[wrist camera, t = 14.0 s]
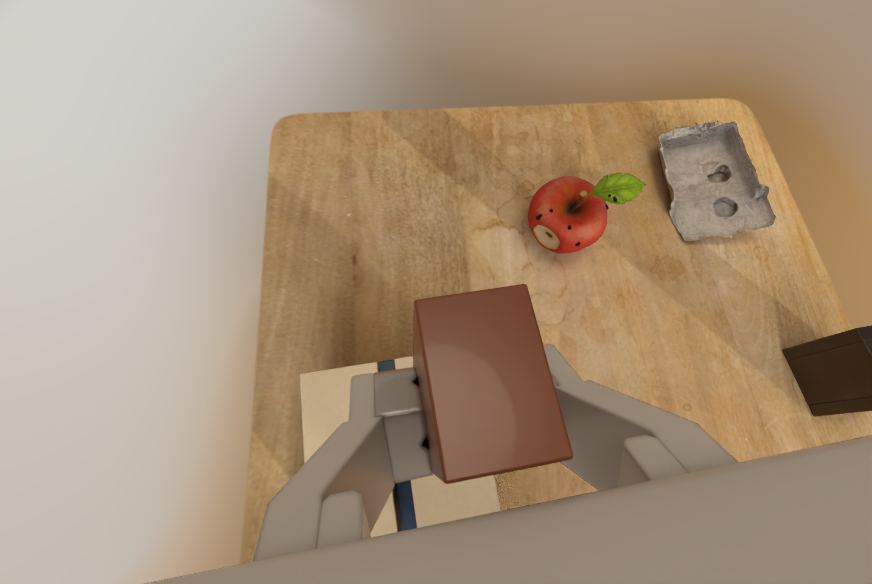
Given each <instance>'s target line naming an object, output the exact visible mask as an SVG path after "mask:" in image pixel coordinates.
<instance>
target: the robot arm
mask: <svg viewBox="0 0 872 584" xmlns="http://www.w3.org/2000/svg"><path fill="white" fill-rule="evenodd" d="M543 346H544V350H545V353H546V357H547V361H548V364H549V368H550V372H551V375H552V379H553V383H554V386H555V390H556V393H557V397H558V401H559V404H560V408H561V412H562V415H563V419H564V423H565V426H566V430H567V434H568V437H569V441H570V445H571V448H572V452H573V458H572V459H571V460H567V461H562V462H561V463H562V464H563V465H565V466H566V467H567V468H569V469H570V470H572V471H573V472H574V473H576V474H577V475H578V476H580V477H581V478H582V479H584V480H585V481H586V482H588V483H589V484H591V485H592V486H593V487H595V488H596V489H597V490H599V491H596V492H591V493H586V494H581V495H576V496H571V497H567V498H562V499H557V500H552V501H547V502H542V503H537V504H532V505H527V506H523V507H518V508H513V509H508V510H503V511H498V512H493V513H488V514H484V515H479V516H474V517H469V518H464V519H459V520H454V521H449V522H445V523H440V524H435V525H430V526H425V527H420V528H415V529H410V530H405V531H401V532H396V533H391V534H386V535H381V536H376V537H371V535H370V533H371V531H372V529H373V528H374V526H375V524H376V522H377V520H378V518H379V516H380V514H381V512H382V510H383V508H384V506H385V504H386V502H387V500H388V498H389V496H390V494H391V492H392V490H393V488H394V486H395V485H394V484H395V483H400V482H404V481H409V480H413V479H418V478H422V477H427V476H431V475H433V473H432V469H431V460H430V452H429V447H428V442H427V428H426V419H425V411H424V405H423V400H422V396H421V391H420V387H419V385H418V377H417V372H416V368H415V367H410V368H403V369H396V370H389V371H381V372H374V373H367V374H361V375H355V376H352V378H351V384H350V402H349V420H348V422H344V423H341V425H340V426H339V427H338V428H337V429H336V430H335V431H334V432H333V433H332V434H331V435H330V437H329V438H328V439H327V440H326V441H325V442H324V443H323V444H322V445H321V446H320V447H319V449H318V450H317V451H316V452H315V453H314V454H313V455H312V456H311V457H310V458H309V459H308V461H307V462H306V463H305V464H304V465H303V466H302V467H301V468H300V469H299V470H298V471H297V473H296V474H295V475H294V476H293V477H292V478H291V479H290V480H289V481H288V482H287V484H286V485H285V486H284V487H283V488H282V489H281V490H280V491H279V492H278V493H277V494H276V496H275V497H274V498H273V499H272V500H271V501H270V502H269V503H268V504H267V508H266V512H265V516H264V520H263V524H262V528H261V532H260V536H259V539H258V543H257V547H256V551H255V555H254V559H253V562H248V563H243V564H238V565H234V566H229V567H224V568H219V569H214V570H209V571H204V572H199V573H194V574H189V575H184V576H180V577H175V578H170V579H165V580H160V581H155V582H150V583H145V584H872V435H871V436H866V437H861V438H856V439H851V440H847V441H842V442H837V443H832V444H827V445H822V446H817V447H812V448H807V449H802V450H797V451H792V452H788V453H783V454H778V455H773V456H768V457H763V458H759V459H754V460H749V461H744V462H738V461H737V460H736V459H735V458H734V457H733V456H732V455H730V454H729V453H728V452H727V451H726V450H725V449H724V448H723V447H722V446H721V445H720V444H719V443H718V442H717V441H716V440H714V439H713V438H712V437H711V436H710V435H709V434H708V433H707V432H706V431H705V430H704V429H703V428H702V427H701V426H700V425H698V424H697V423H695V422H693V421H690V420H688V419H685V418H683V417H680V416H678V415H675V414H673V413H670V412H668V411H665V410H663V409H660V408H658V407H655V406H653V405H650V404H648V403H645V402H643V401H640V400H638V399H635V398H633V397H630V396H628V395H625V394H623V393H620V392H618V391H615V390H613V389H610V388H608V387H605V386H603V385H600V384H598V383H595V382H593V381H590V380H587V381H583V380H582V379H581V378H580V376H579V375H578V374H577V373H576V371H575V370H574V369H573V368H572V367H571V365H570V364H569V363H568V362H567V361H566V359H565V358H564V357H563V356H562V355H561V353H560V352H559V351H558V350H557V349H556V347H555V346H554V345H552V344H546V345H543Z"/></svg>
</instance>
